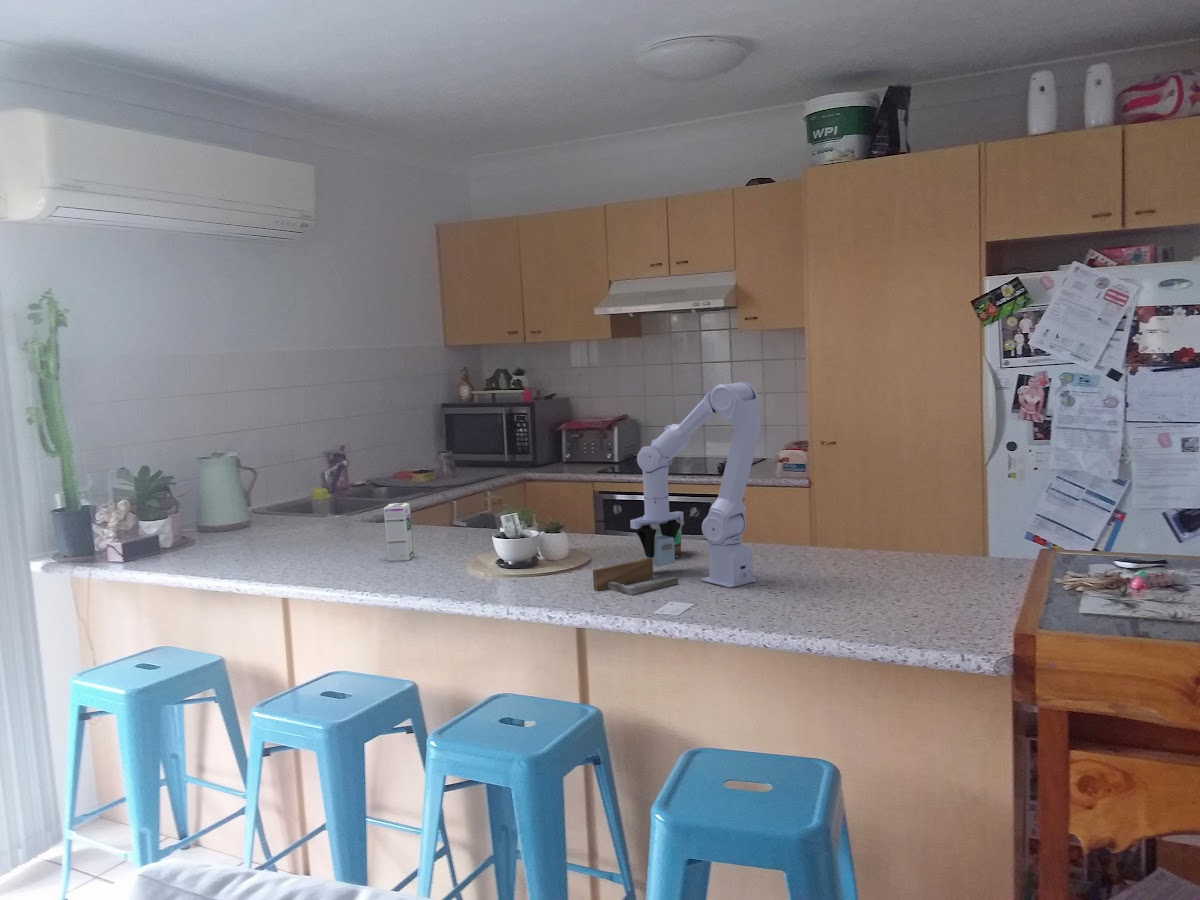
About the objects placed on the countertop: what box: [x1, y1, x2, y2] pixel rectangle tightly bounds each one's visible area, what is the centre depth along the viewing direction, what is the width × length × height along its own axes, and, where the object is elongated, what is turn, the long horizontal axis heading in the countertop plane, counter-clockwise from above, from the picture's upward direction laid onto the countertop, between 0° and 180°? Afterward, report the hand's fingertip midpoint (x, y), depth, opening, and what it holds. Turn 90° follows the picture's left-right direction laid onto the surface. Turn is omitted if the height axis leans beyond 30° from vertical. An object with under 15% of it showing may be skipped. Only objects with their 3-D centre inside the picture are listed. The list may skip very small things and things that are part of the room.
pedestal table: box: [592, 557, 679, 596], centre depth 209 cm, size 10×16×4 cm, turn 127°
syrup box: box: [383, 502, 415, 562], centre depth 250 cm, size 6×6×14 cm
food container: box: [650, 520, 685, 557], centre depth 238 cm, size 12×6×10 cm, turn 140°
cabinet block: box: [643, 535, 676, 568], centre depth 220 cm, size 6×5×6 cm
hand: (658, 555), depth 221 cm, fingers closed on cabinet block, 5 cm apart
